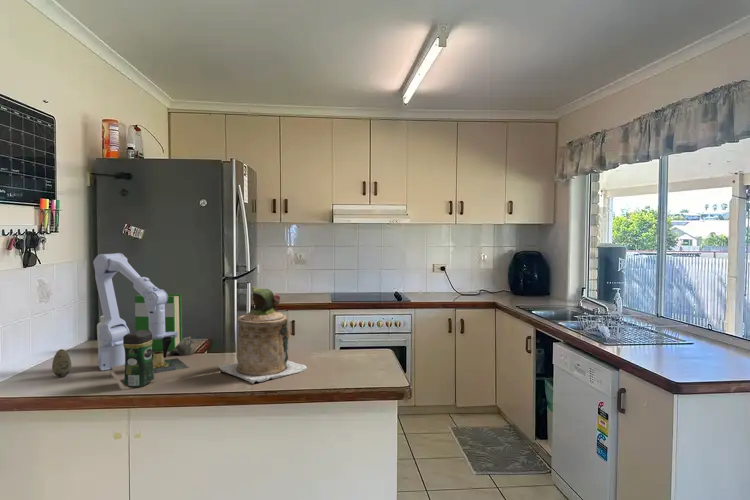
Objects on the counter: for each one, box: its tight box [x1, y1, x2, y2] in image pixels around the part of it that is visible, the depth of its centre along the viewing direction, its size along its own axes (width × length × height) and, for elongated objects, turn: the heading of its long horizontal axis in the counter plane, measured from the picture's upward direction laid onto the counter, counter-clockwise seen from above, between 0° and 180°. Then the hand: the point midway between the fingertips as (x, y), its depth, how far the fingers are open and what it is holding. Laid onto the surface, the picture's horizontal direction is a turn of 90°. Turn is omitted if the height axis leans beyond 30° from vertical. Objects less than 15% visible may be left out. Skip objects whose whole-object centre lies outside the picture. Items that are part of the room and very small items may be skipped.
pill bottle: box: [96, 315, 116, 348], centre depth 228 cm, size 8×8×15 cm
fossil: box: [169, 336, 196, 357], centre depth 218 cm, size 11×9×10 cm
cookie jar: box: [218, 286, 308, 385], centre depth 193 cm, size 25×25×32 cm
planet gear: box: [152, 351, 169, 368], centre depth 194 cm, size 7×7×6 cm
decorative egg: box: [51, 348, 72, 378], centre depth 187 cm, size 6×6×10 cm
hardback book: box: [134, 293, 183, 352], centre depth 229 cm, size 18×7×24 cm, turn 84°
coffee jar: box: [123, 330, 155, 388], centre depth 178 cm, size 10×8×19 cm
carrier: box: [153, 357, 190, 374], centre depth 198 cm, size 15×17×4 cm
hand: (157, 358), depth 194 cm, fingers closed on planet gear, 4 cm apart
